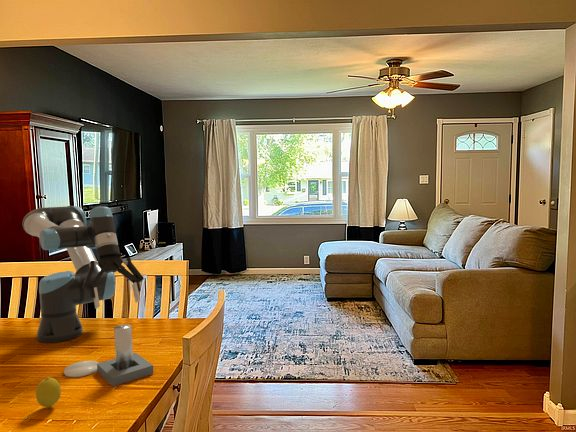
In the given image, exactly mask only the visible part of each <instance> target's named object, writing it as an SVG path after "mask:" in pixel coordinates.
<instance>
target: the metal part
mask: <svg viewBox="0 0 576 432" xmlns="http://www.w3.org/2000/svg"><path fill="white" fill-rule="evenodd" d="M113 330H114V332H113V333H114V347H115V348H114V349H115V359H116V370H117V371H120V370H123V369H127V368H130V367H133V350H134V349H133V334H132V333H133V332H132V331H133V329H132V325H131V324H127V323H126V324H119V325H116V326H115V327H114V328H113Z"/></svg>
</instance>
